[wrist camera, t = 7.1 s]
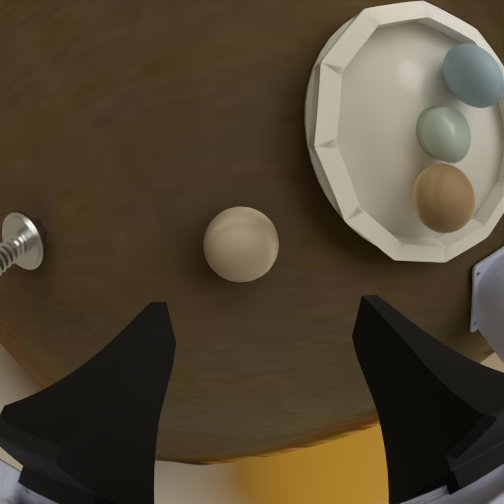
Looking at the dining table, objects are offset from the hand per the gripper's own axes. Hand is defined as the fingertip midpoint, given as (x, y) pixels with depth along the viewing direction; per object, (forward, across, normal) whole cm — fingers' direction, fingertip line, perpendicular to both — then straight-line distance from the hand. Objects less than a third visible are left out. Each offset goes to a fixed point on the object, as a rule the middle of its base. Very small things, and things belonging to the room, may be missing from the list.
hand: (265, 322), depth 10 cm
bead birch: (+10, +1, 0) cm, 10 cm away
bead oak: (+9, -12, -2) cm, 15 cm away
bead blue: (+9, -14, -12) cm, 20 cm away
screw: (+10, +18, 0) cm, 21 cm away
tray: (+10, -12, -7) cm, 17 cm away
